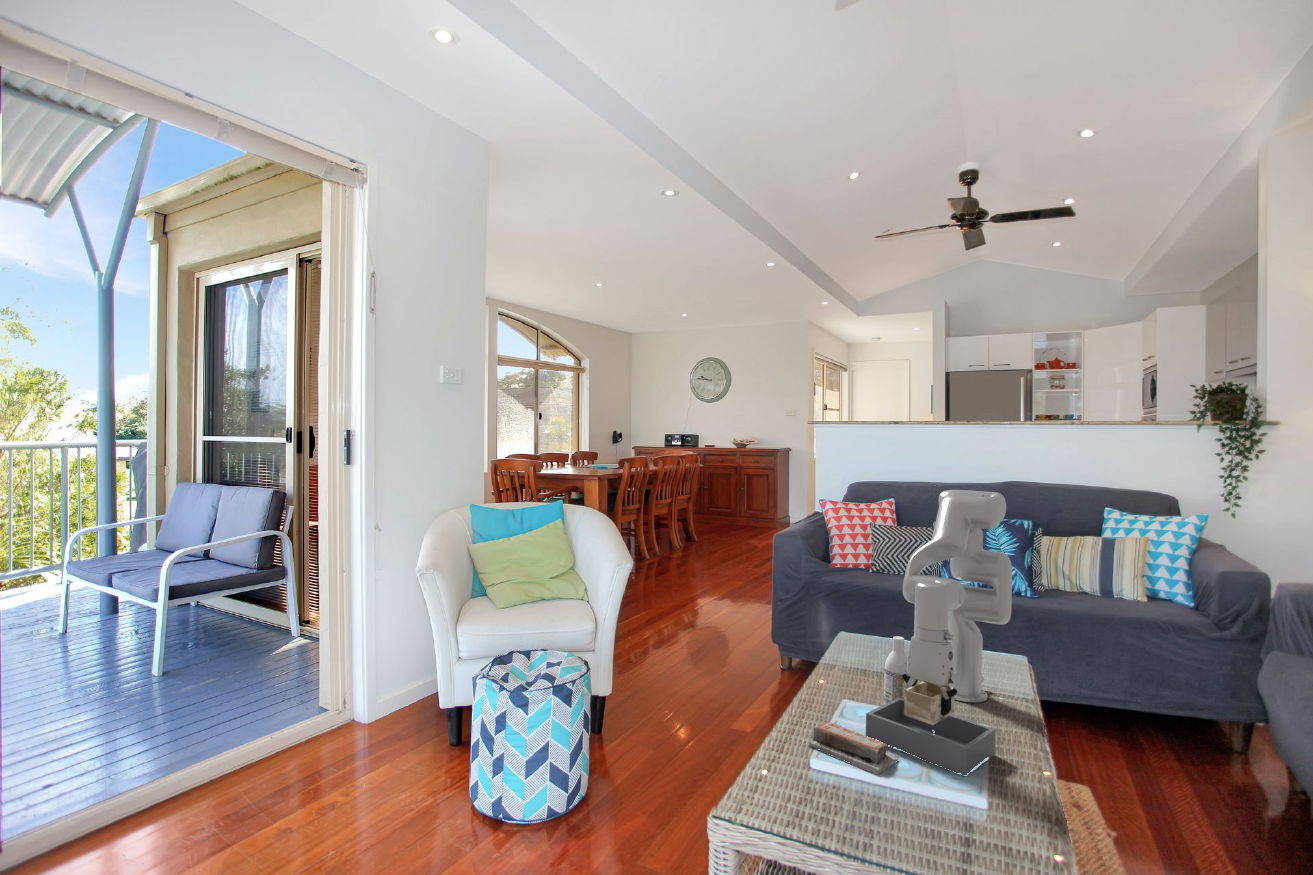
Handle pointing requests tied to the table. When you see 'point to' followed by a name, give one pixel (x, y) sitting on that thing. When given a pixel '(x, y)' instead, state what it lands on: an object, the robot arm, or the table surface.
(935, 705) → the pine crate
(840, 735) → the packaged product
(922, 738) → the charcoal crate
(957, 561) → the robot arm
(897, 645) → the bath foam
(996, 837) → the table surface
